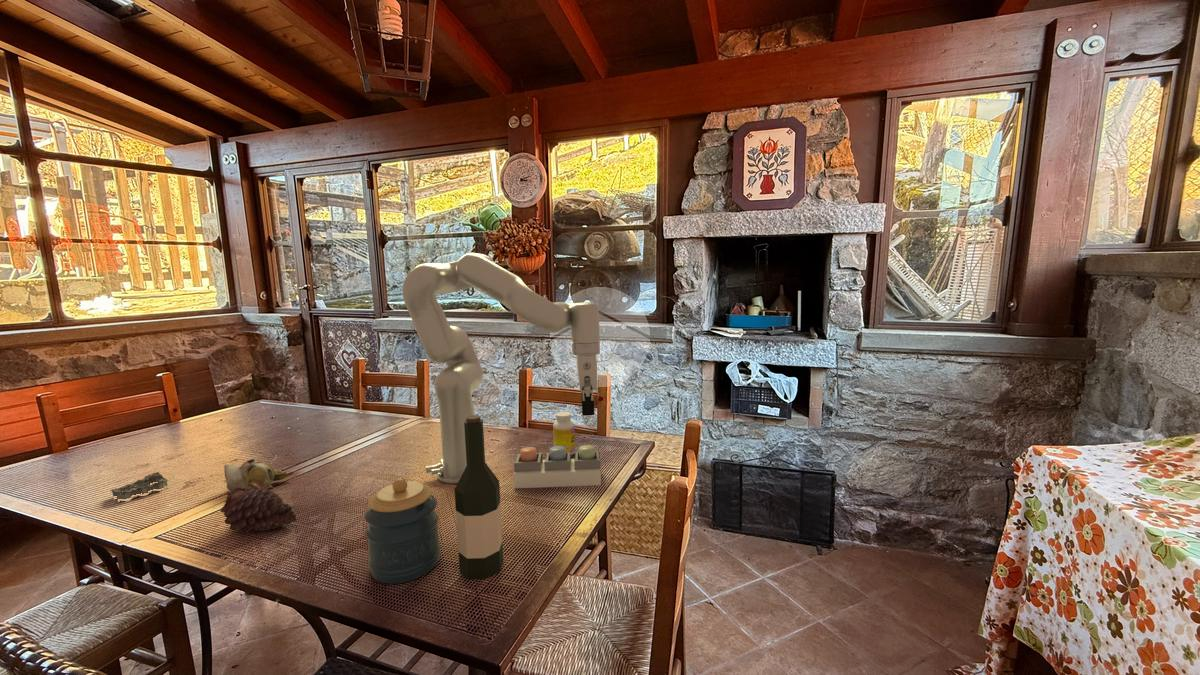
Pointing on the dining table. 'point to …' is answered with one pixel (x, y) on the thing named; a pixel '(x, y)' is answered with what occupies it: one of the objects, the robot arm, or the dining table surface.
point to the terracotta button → (528, 454)
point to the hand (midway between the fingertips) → (587, 409)
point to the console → (557, 472)
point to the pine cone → (256, 510)
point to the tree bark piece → (140, 486)
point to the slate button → (557, 453)
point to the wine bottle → (478, 509)
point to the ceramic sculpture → (252, 475)
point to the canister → (402, 532)
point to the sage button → (586, 452)
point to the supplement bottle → (564, 432)
